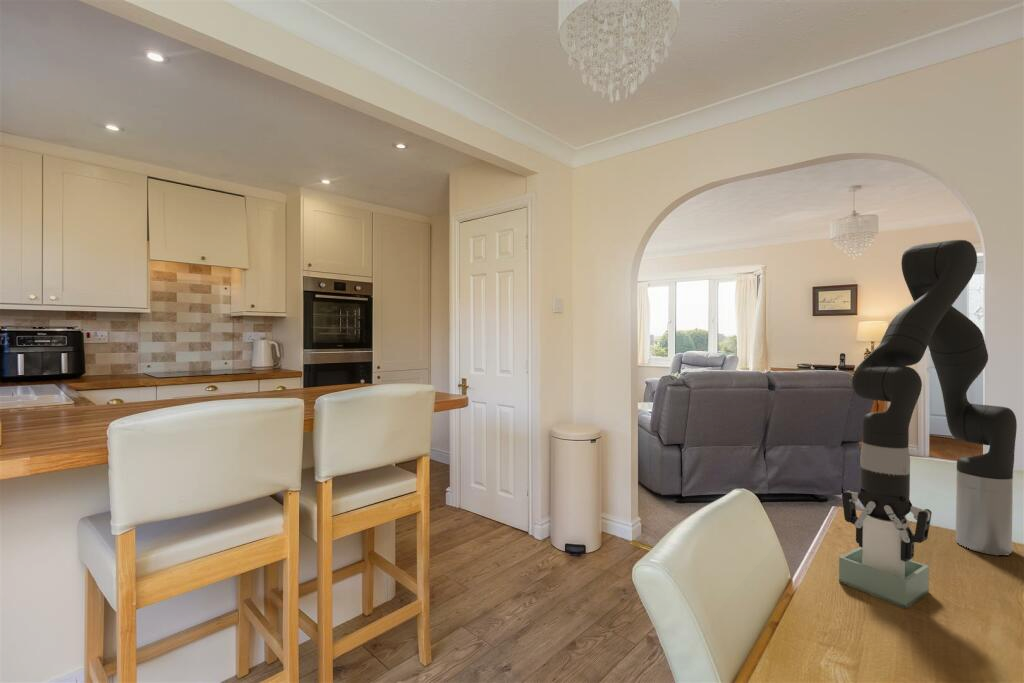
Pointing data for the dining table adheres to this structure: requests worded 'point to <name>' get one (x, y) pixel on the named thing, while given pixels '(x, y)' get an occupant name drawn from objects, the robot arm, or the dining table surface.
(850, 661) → the dining table surface
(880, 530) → the can
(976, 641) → the dining table surface
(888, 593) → the bin
